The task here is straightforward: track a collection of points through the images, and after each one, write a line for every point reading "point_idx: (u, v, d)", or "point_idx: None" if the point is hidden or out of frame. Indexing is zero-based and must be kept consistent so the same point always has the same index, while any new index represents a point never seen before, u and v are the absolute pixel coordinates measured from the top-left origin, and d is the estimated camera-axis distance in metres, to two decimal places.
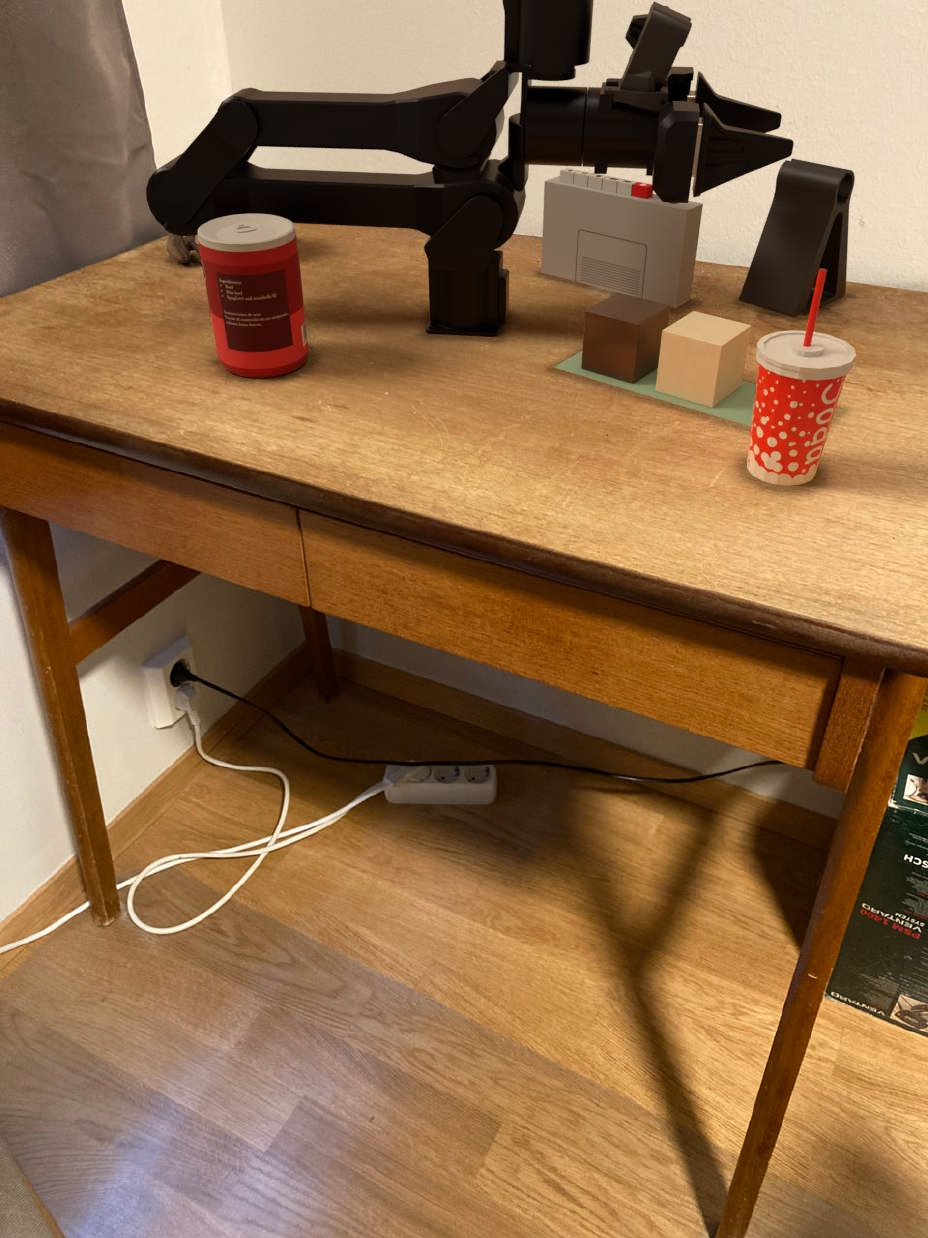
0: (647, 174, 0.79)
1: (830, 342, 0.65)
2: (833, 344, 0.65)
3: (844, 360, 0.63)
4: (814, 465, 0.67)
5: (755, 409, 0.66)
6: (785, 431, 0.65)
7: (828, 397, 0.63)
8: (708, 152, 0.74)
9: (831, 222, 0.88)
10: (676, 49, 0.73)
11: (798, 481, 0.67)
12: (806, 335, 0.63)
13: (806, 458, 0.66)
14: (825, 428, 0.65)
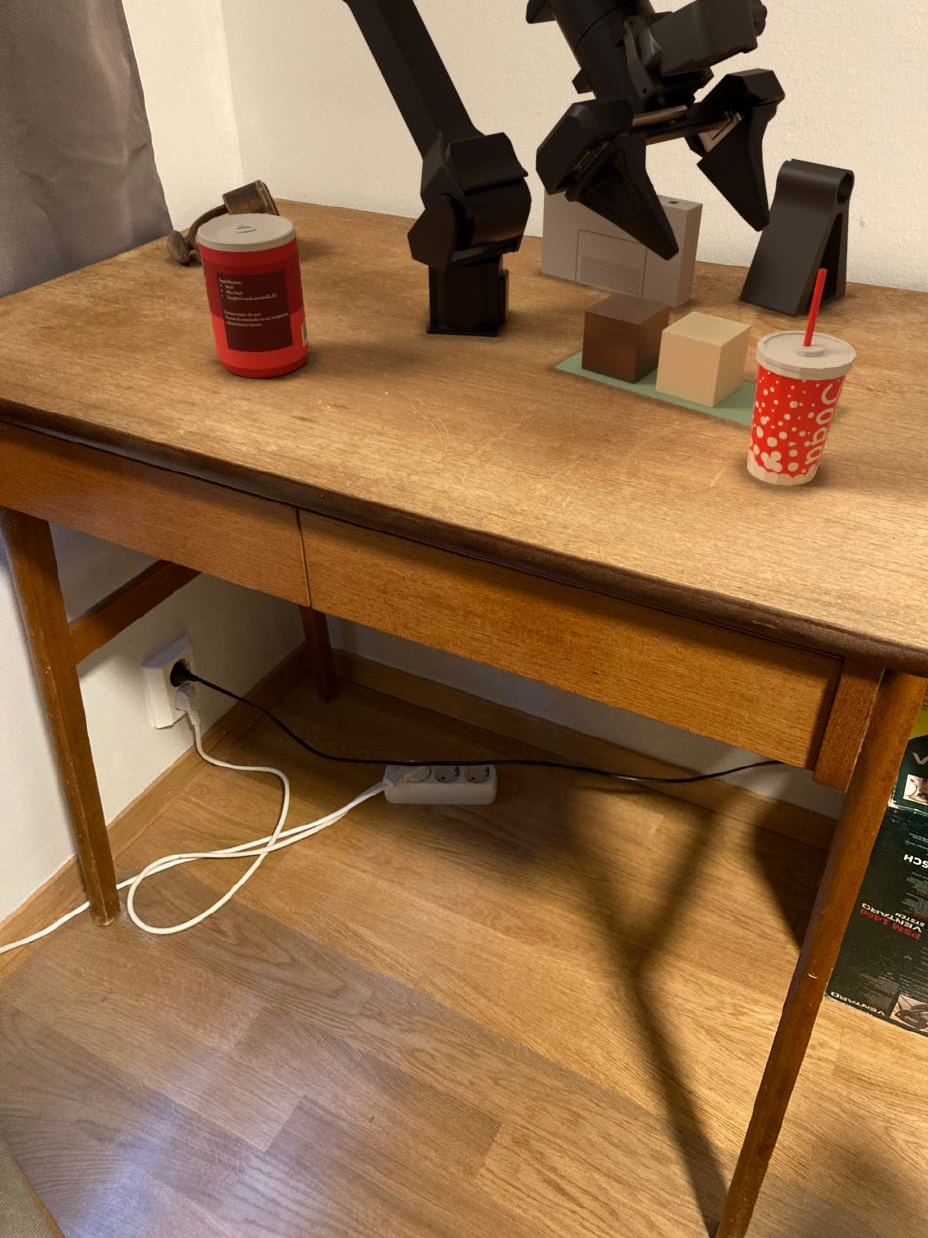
0: None
1: (830, 342, 0.65)
2: (833, 344, 0.65)
3: (844, 360, 0.63)
4: (814, 465, 0.67)
5: (755, 409, 0.66)
6: (785, 431, 0.65)
7: (828, 397, 0.63)
8: (614, 176, 0.64)
9: (831, 222, 0.88)
10: (688, 58, 0.60)
11: (798, 481, 0.67)
12: (806, 335, 0.63)
13: (806, 458, 0.66)
14: (825, 428, 0.65)
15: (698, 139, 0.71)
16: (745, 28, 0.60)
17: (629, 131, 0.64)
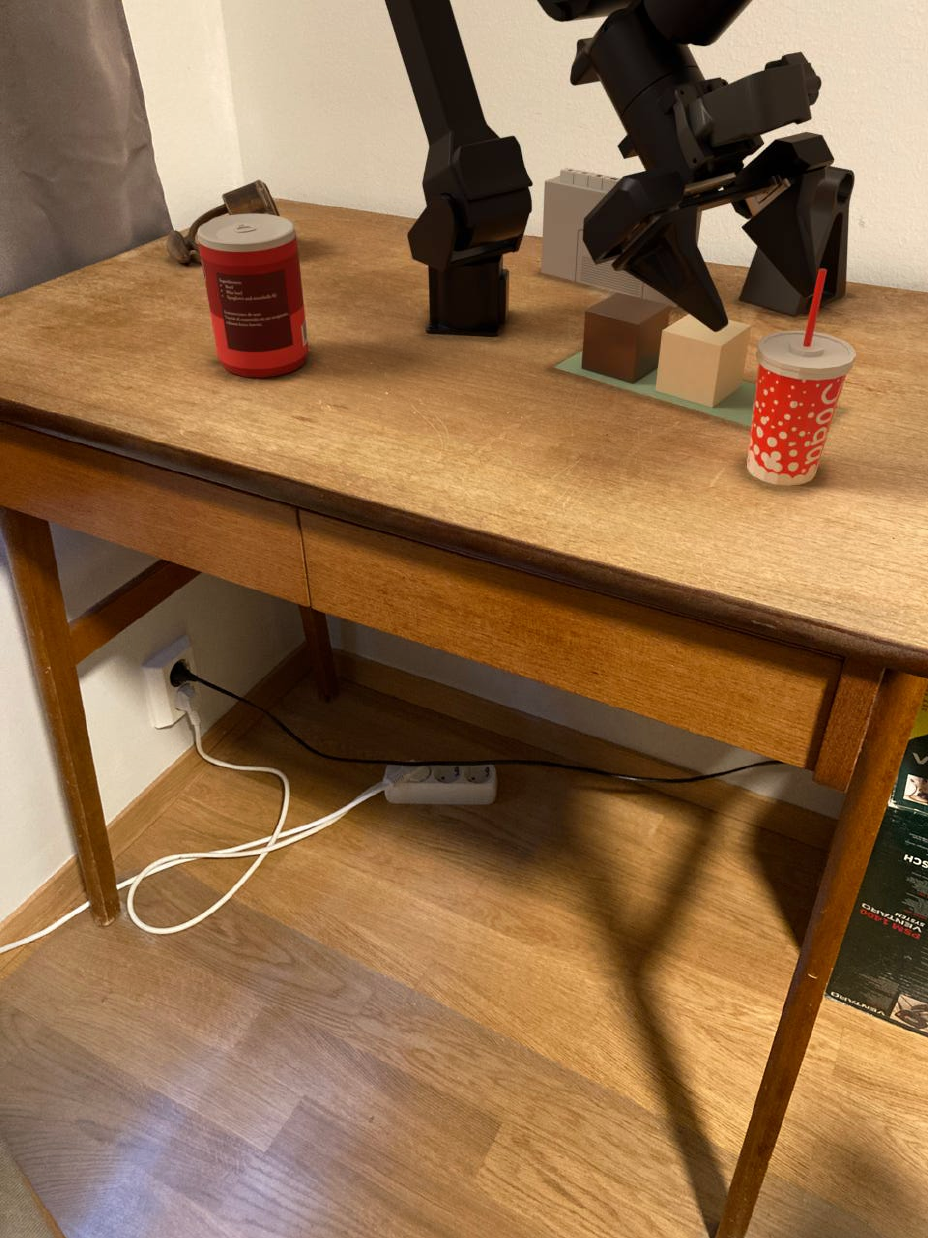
0: None
1: (830, 342, 0.65)
2: (833, 344, 0.65)
3: (844, 360, 0.63)
4: (814, 465, 0.67)
5: (755, 409, 0.66)
6: (785, 431, 0.65)
7: (827, 397, 0.63)
8: (662, 247, 0.63)
9: (831, 222, 0.88)
10: (742, 131, 0.59)
11: (798, 481, 0.67)
12: (806, 335, 0.63)
13: (806, 458, 0.66)
14: (825, 428, 0.65)
15: (743, 201, 0.70)
16: (799, 101, 0.59)
17: None
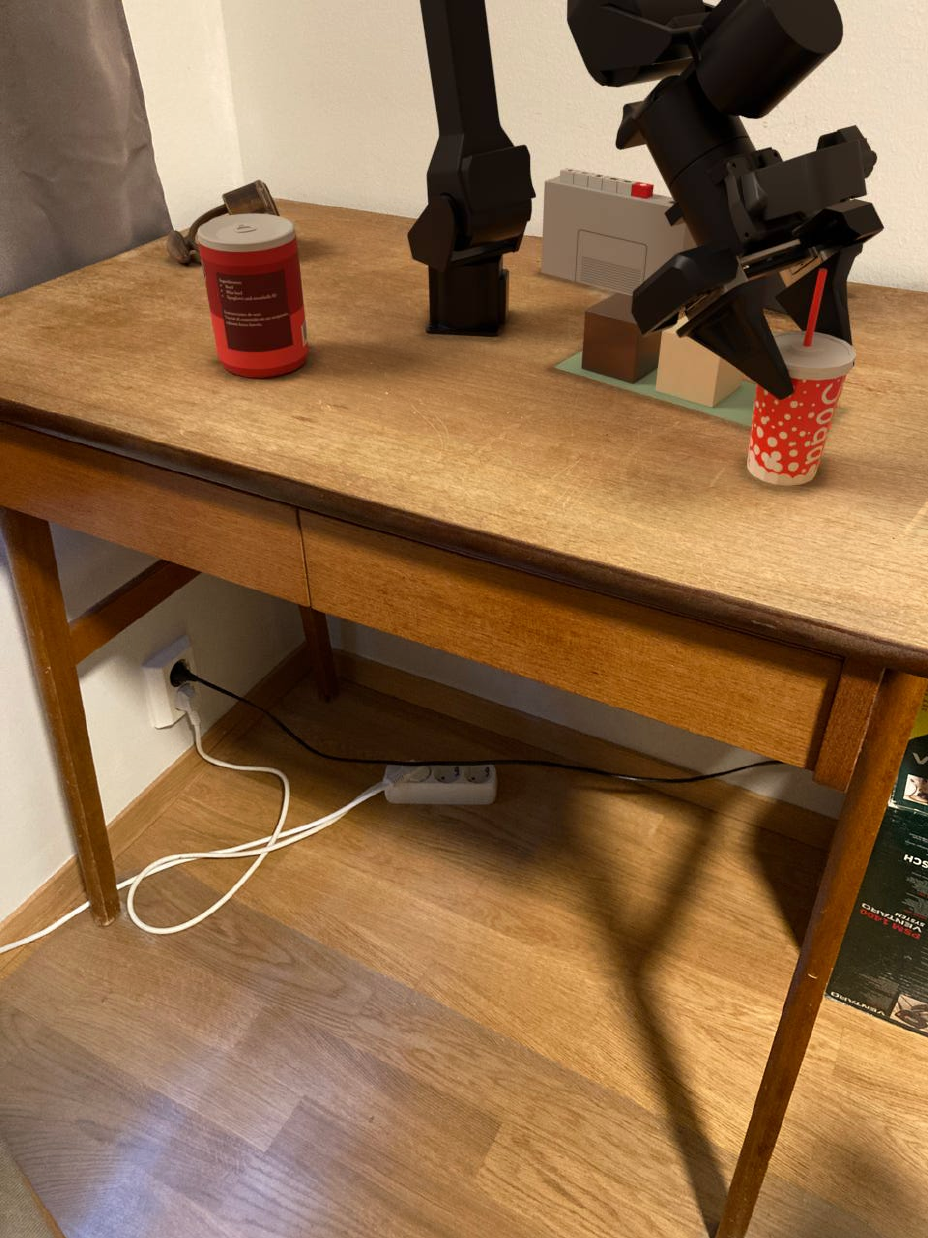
0: None
1: (830, 342, 0.65)
2: (833, 344, 0.65)
3: (844, 360, 0.63)
4: (814, 465, 0.67)
5: (755, 409, 0.66)
6: (785, 431, 0.65)
7: (828, 397, 0.63)
8: (728, 315, 0.62)
9: None
10: (797, 208, 0.58)
11: (798, 481, 0.67)
12: (806, 335, 0.63)
13: (806, 458, 0.66)
14: (825, 428, 0.65)
15: None
16: (856, 178, 0.58)
17: None
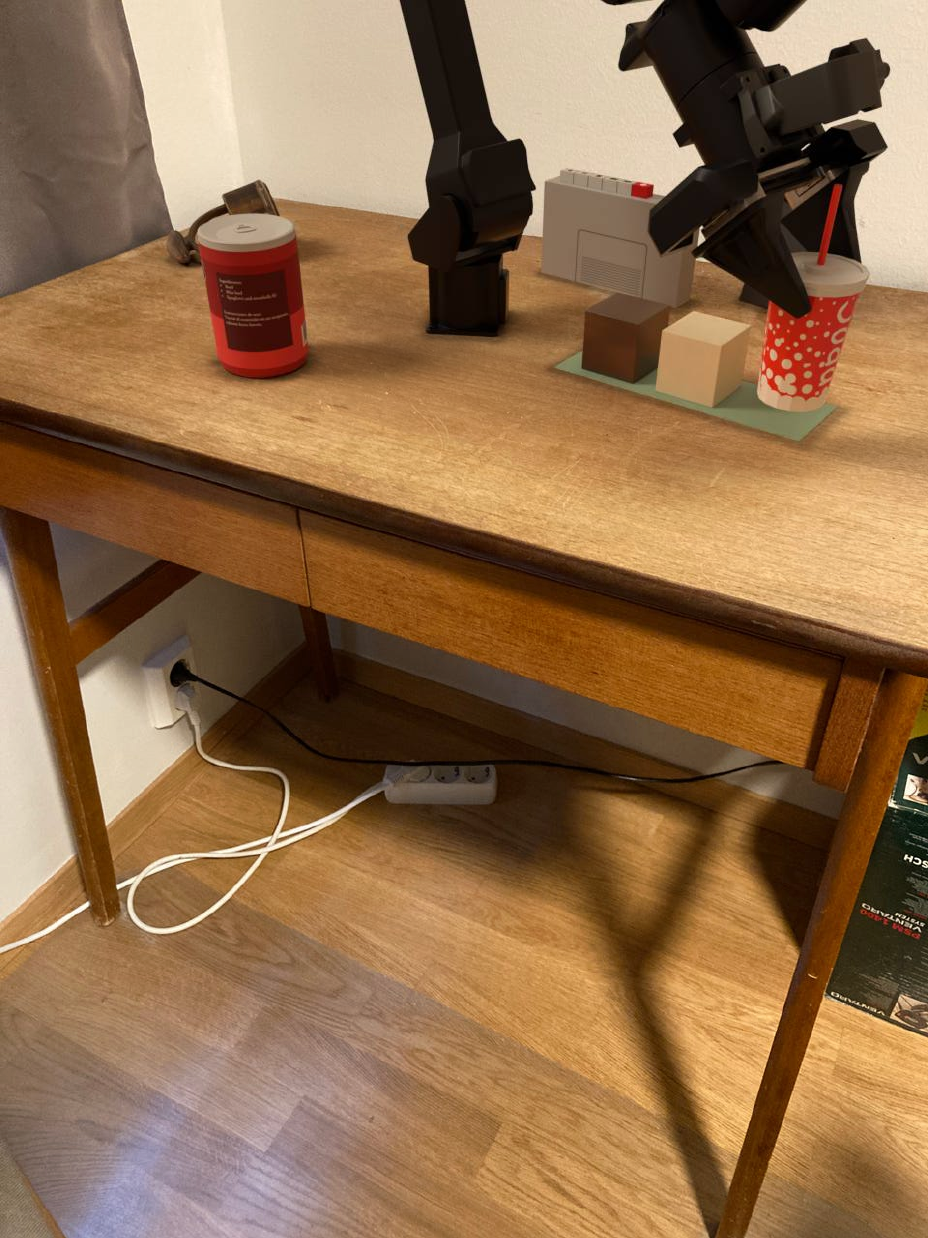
0: None
1: (841, 262, 0.65)
2: (845, 263, 0.65)
3: (859, 277, 0.63)
4: (827, 387, 0.67)
5: (768, 332, 0.66)
6: (801, 351, 0.65)
7: (843, 315, 0.63)
8: (745, 233, 0.62)
9: None
10: (816, 119, 0.58)
11: (811, 404, 0.67)
12: (820, 253, 0.63)
13: (820, 380, 0.66)
14: (839, 348, 0.65)
15: None
16: (872, 88, 0.58)
17: None
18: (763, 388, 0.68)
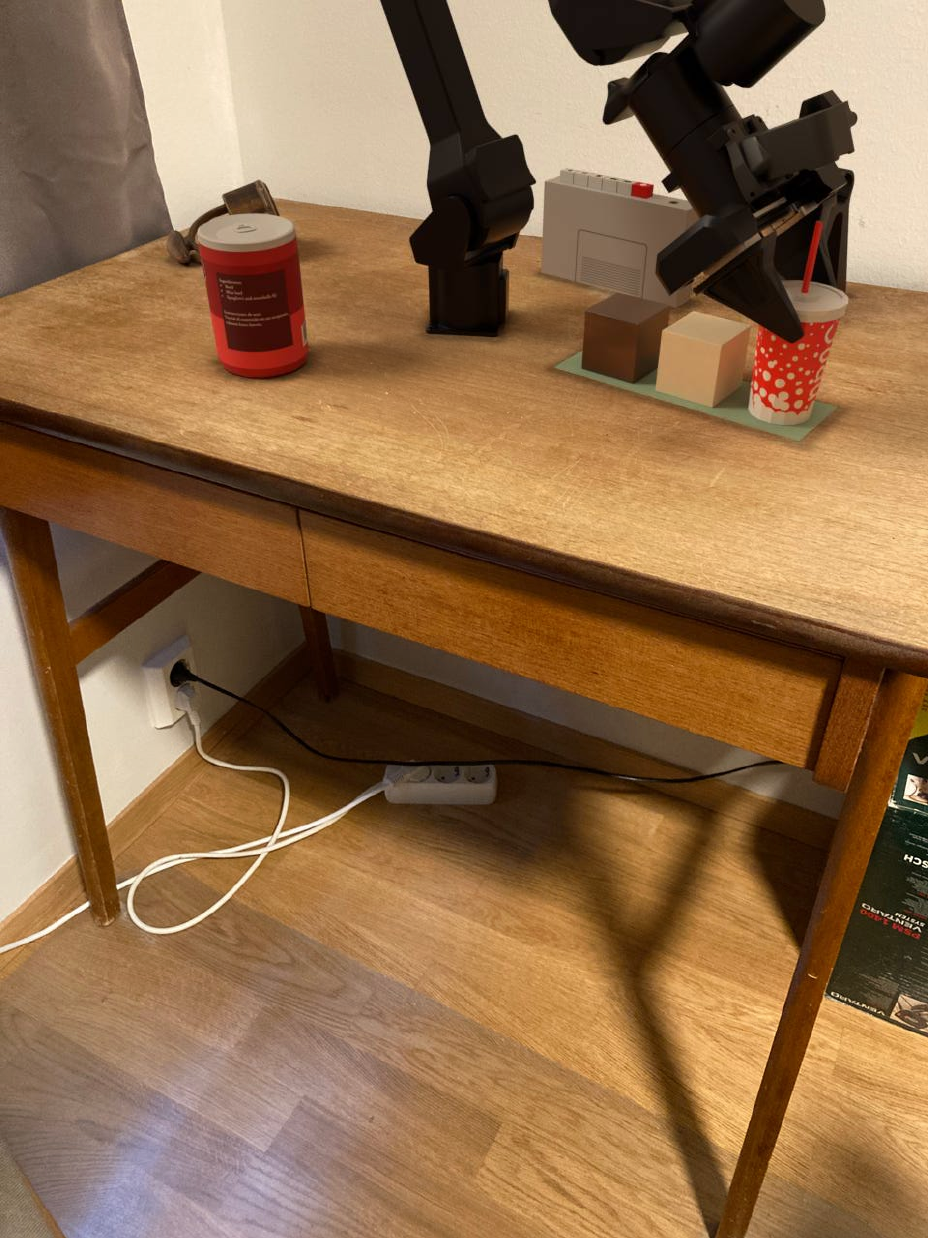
0: None
1: (819, 288, 0.72)
2: (822, 289, 0.72)
3: (841, 302, 0.70)
4: (813, 401, 0.74)
5: (760, 355, 0.73)
6: (793, 371, 0.71)
7: (829, 337, 0.70)
8: (740, 270, 0.68)
9: (831, 222, 0.88)
10: (802, 166, 0.64)
11: (801, 417, 0.74)
12: (804, 283, 0.70)
13: (809, 395, 0.73)
14: (824, 366, 0.72)
15: None
16: (847, 136, 0.65)
17: None
18: (756, 406, 0.75)
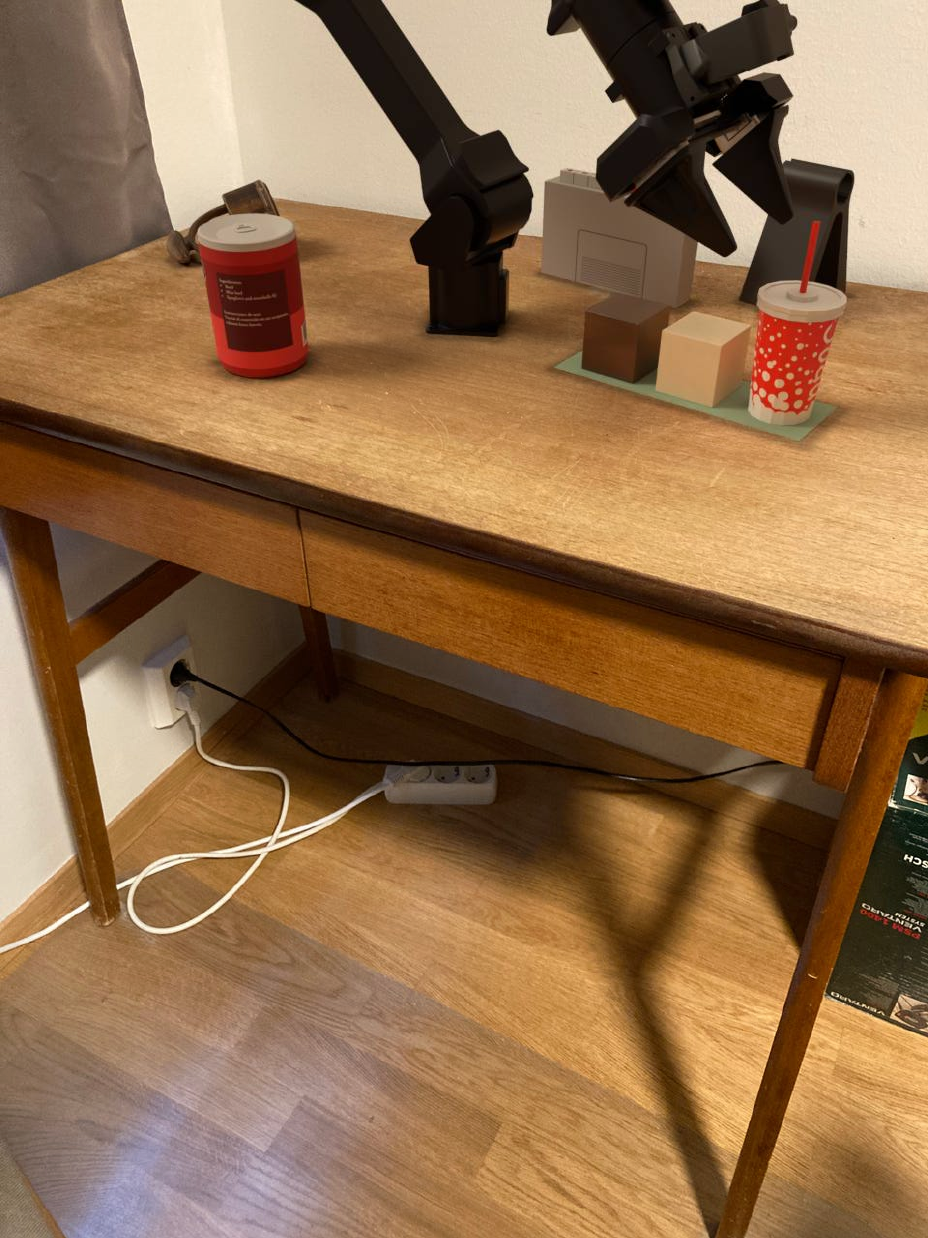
0: None
1: (817, 288, 0.72)
2: (821, 289, 0.72)
3: (839, 302, 0.70)
4: (813, 401, 0.74)
5: (759, 355, 0.73)
6: (792, 371, 0.71)
7: (828, 336, 0.70)
8: (671, 181, 0.67)
9: (831, 222, 0.88)
10: (740, 67, 0.64)
11: (801, 417, 0.74)
12: (802, 283, 0.70)
13: (809, 395, 0.73)
14: (823, 366, 0.72)
15: (710, 140, 0.76)
16: (786, 38, 0.64)
17: None
18: (756, 406, 0.75)
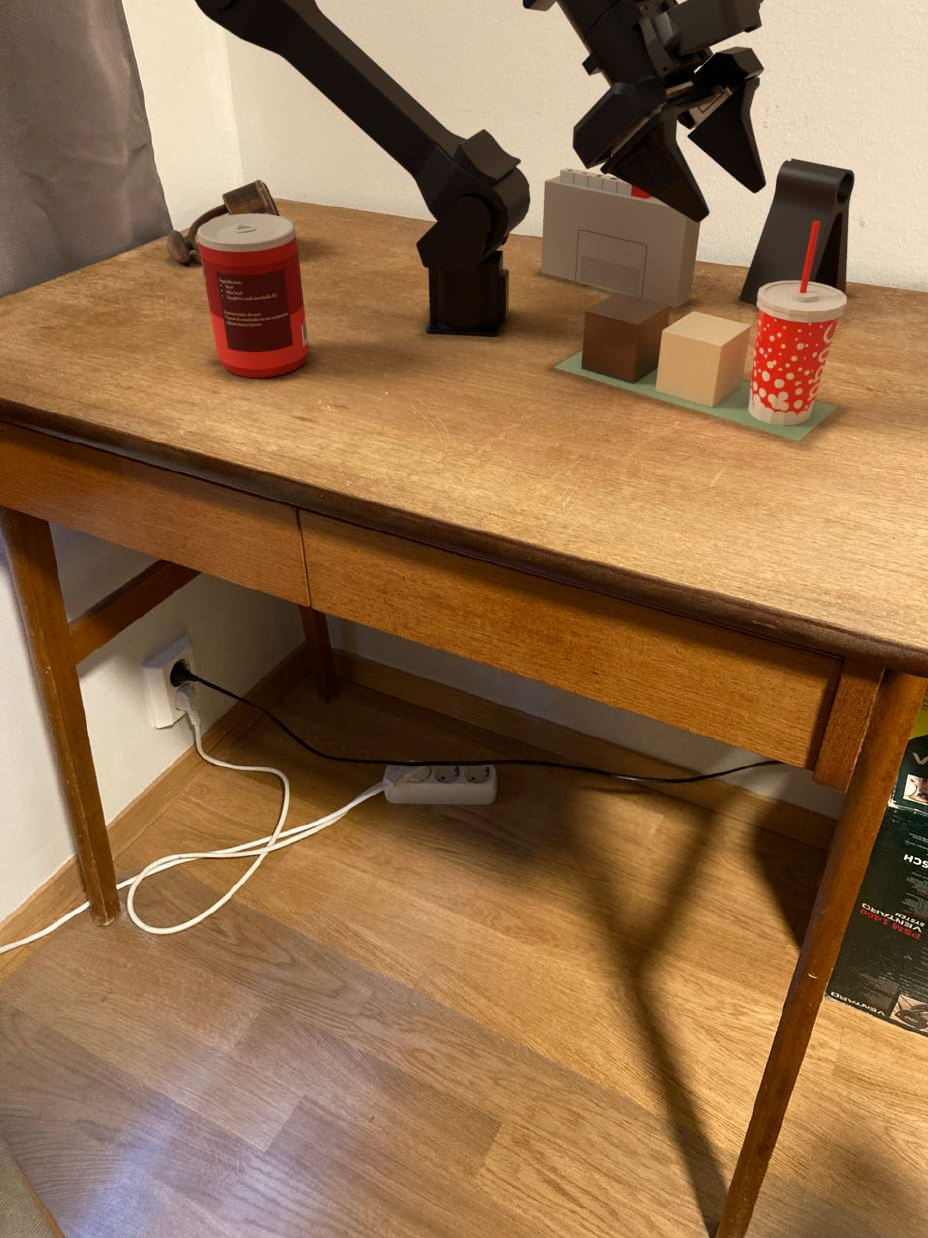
0: None
1: (817, 288, 0.72)
2: (821, 289, 0.72)
3: (839, 302, 0.70)
4: (813, 401, 0.74)
5: (759, 355, 0.73)
6: (792, 371, 0.71)
7: (828, 336, 0.70)
8: (645, 148, 0.70)
9: (831, 222, 0.88)
10: (710, 37, 0.67)
11: (801, 417, 0.74)
12: (802, 283, 0.70)
13: (809, 395, 0.73)
14: (823, 366, 0.72)
15: (685, 113, 0.78)
16: (753, 9, 0.67)
17: None
18: (756, 406, 0.75)
